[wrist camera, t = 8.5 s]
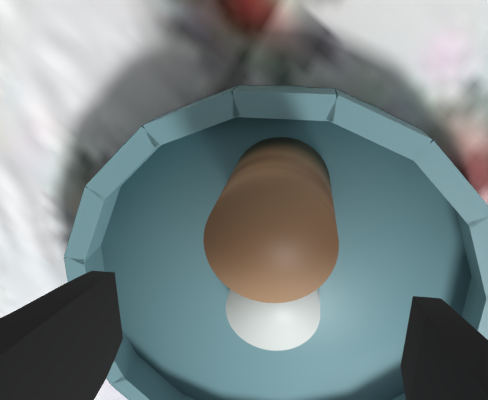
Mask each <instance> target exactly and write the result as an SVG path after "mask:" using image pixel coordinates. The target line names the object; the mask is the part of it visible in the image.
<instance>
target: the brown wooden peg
mask: <svg viewBox="0 0 488 400" xmlns="http://www.w3.org/2000/svg"><path fill="white" fill-rule="evenodd" d="M203 242H204V250H205V254H206V258H207V260H208V263H209V265H210V267H211V268H212V270H213V272H214V273H215V274H216V276H217V277H218V278H219V279H220V280H221V282H222V283H224V284H225V285H226V286H227V287H228V288H230V289H231V290H233V291H234V292H235V293H237V294H239V295H241V296H243V297H246V298H248V299H251V300H255V301H258V302H265V303H285V302H290V301H294V300H297V299H300V298H303V297H305V296H307V295H309V294H311V293H312V292H314V291H315V290H317V289H318V288H319V287H320V286H321V285H322V284H323V283H324V282H325V281H326V280H327V279H328V277H329V276H330V275H331V273H332V271H333V269H334V267H335V264H336V261H337V258H338V253H339V239H338V231H337V224H336V217H335V211H334V204H333V197H332V190H331V183H330V176H329V172H328V169H327V166H326V164H325V162H324V160H323V159H322V157H321V156H320V155H319V154H318V152H316V151H315V150H314V149H313V148H312V147H311V146H309V145H308V144H306V143H304V142H302V141H300V140H297V139H293V138H289V137H273V138H268V139H264V140H262V141H260V142H257V143H256V144H254V145H252V146H251V147H250V148H249V149H247V150H246V151H245V152H244V153H243V155H242V156H241V157H240V159H239V161H238V163H237V164H236V166H235V168H234V170H233V172H232V174H231V176H230V178H229V179H228V181H227V183H226V185H225V187H224V189H223V191H222V192H221V194H220V196H219V198H218V200H217V202H216V204H215V206H214V207H213V209H212V211H211V213H210V215H209V217H208V219H207V222H206V225H205V229H204V238H203Z"/></svg>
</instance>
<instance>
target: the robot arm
mask: <svg viewBox="0 0 488 400" xmlns="http://www.w3.org/2000/svg"><path fill="white" fill-rule="evenodd" d="M122 340H123V335H122V327H121V319H120V311H119V303H118V295H117V287H116V279H115V272H103V271H90V272H88V273H85V274H83V275H81V276H79V277H77V278H75V279H73V280H71V281H69V282H67V283H66V284H64V285H62V286H60V287H58V288H56V289H55V290H53V291H51V292H49V293H47V294H45V295H44V296H42V297H40V298H38V299H36V300H34V301H33V302H31V303H29V304H27V305H25V306H23V307H22V308H20V309H18V310H16V311H14V312H12V313H10V314H8V315H6V316H4V317H2V318H0V400H94V398H95V397H96V395H97V393H98V391H99V390H100V388H101V386H102V385H103V383H104V381H105V379H106V377H107V376H108V373H109V371H110V369H111V367H112V364H113V362H114V360H115V357H116V355H117V352H118V350H119V347H120V345H121V342H122ZM400 367H401V373H402V379H403V385H404V391H405V397H406V400H488V340H487V339H486V338H485V337H484V336H483V335H482V334H481V333H479V332H478V331H477V330H476V329H475V328H474V327H473V326H472V325H471V324H470V323H468V322H467V321H466V320H465V319H464V318H463V317H462V316H461V315H460V314H458V313H457V312H456V311H455V310H454V309H453V308H452V307H451V306H449V305H448V304H447V303H446V302H445V301H443V300H442V299H441V298H431V297H418V296H413V298H412V304H411V310H410V315H409V321H408V326H407V332H406V338H405V343H404V349H403V355H402V360H401V366H400Z"/></svg>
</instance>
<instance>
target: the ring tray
mask: <svg viewBox="0 0 488 400" xmlns="http://www.w3.org/2000/svg"><path fill="white" fill-rule="evenodd" d="M273 137H289V138H293V139H297V140H300V141H302V142H304V143H306V144H308V145H309V146H311V147H312V148H313V149H314V150H315V151H316V152H318V154H319V155H320V156H321V157H322V159H323V160H324V162H325V164H326V166H327V169H328V172H329V176H330V183H331V190H332V197H333V204H334V211H335V217H336V224H337V231H338V239H339V253H338V258H337V261H336V264H335V267H334V269H333V271H332V273H331V275H330V276H329V277H328V279H327V280H326V281H325V282H324V283H323V284H322V285H321V286H320V287H319V288H318V289H317V290H315V291H314V292H312V293H311V294H309V295H307V296H305V297H303V298H300V299H297V300H294V301H290V302H285V303H265V302H258V301H255V300H251V299H248V298H246V297H243V296H241V295H239V294H237V293H235V292H234V291H233V290H231V289H230V288H228V287H227V286H226V285H225V284H224V283H222V282H221V280H220V279H219V278H218V277H217V276H216V274H215V273H214V272H213V270H212V268H211V267H210V265H209V263H208V260H207V258H206V254H205V250H204V242H203V238H204V229H205V225H206V222H207V219H208V217H209V215H210V213H211V211H212V209H213V207H214V206H215V204H216V202H217V200H218V198H219V196H220V194H221V192H222V191H223V189H224V187H225V185H226V183H227V181H228V179H229V178H230V176H231V174H232V172H233V170H234V168H235V166H236V164H237V163H238V161H239V159H240V157H241V156H242V155H243V153H244V152H245V151H246V150H247V149H249V148H250V147H251V146H252V145H254V144H256V143H257V142H260V141H262V140H264V139H268V138H273ZM64 256H65V257H64V260H65V267H66V273H67V279H68V282H69V281H71V280H73V279H75V278H77V277H79V276H81V275H83V274H85V273H88V272H90V271H103V272H115V279H116V287H117V295H118V303H119V311H120V319H121V327H122V335H123V340H122V342H121V345H120V347H119V350H118V352H117V355H116V357H115V360H114V362H113V364H112V367H111V369H110V371H109V373H108V376H107V377H106V378H107V380H108V381H109V383H110V384H111V385H112V386H113V387H114V388H115V389H116V390H118V391H119V392H120V393H121V394H122V395H123V396H125V397H126V398H127V399H128V400H406V397H405V391H404V385H403V379H402V373H401V367H400V366H401V360H402V355H403V349H404V343H405V338H406V332H407V326H408V321H409V315H410V310H411V304H412V298H413V296H418V297H431V298H441V299H442V300H443V301H445V302H446V303H447V304H448V305H449V306H451V307H452V308H453V309H454V310H455V311H456V312H457V313H458V314H460V315H461V316H462V317H463V318H464V319H465V320H466V321H467V322H468V323H470V324H471V325H472V326H473V327H474V328H475V329H476V330H477V331H478V332H479V333H481V334H482V335H483V336H484V337H485V338H486V339H487V340H488V205H487V204H486V203H485V201H484V200H483V199H482V198H481V197H480V195H479V194H478V193H477V192H476V191H475V189H474V188H473V187H472V186H471V185H470V183H469V182H468V181H467V180H466V179H465V177H464V176H463V175H462V174H461V173H460V171H459V170H458V169H457V168H456V167H455V165H454V164H453V163H452V162H451V161H450V159H449V158H448V157H447V156H446V155H445V153H444V152H443V151H442V150H441V149H440V147H439V146H438V145H437V144H436V143H435V141H434V140H433V139H431V138H430V137H429V136H428V135H427V134H426V133H425V132H424V131H422V130H421V129H419V128H417V127H415V126H413V125H411V124H409V123H407V122H405V121H402V120H400V119H398V118H396V117H394V116H392V115H390V114H388V113H387V112H385V111H383V110H381V109H379V108H378V107H376V106H373V105H371V104H368V103H366V102H363V101H360V100H358V99H356V98H354V97H352V96H350V95H347V94H345V93H343V92H341V91H339V90H337V89H335V90H334V88H311V87H302V86H292V85H269V86H253V85H239V86H238V85H237V86H235V87H232V88H230V89H227V90H225V91H222V92H220V93H217V94H214V95H212V96H209V97H206V98H203V99H200V100H197V101H195V102H193V103H191V104H189V105H186V106H184V107H181V108H179V109H176V110H174V111H171V112H168V113H166V114H163V115H161V116H158V117H156V118H155V119H153V120H151V121H149V122H148V123H146V124H144V125H143V126H141V127H140V128H139V129H138V131H137V132H136V133H135V134H134V135H133V136H132V137H131V138H130V139H129V140H128V141H127V142H126V143H125V144H124V145H123V146H122V147H121V149H120V150H119V151H118V152H117V153H116V154H115V155H114V156H113V157H112V158H111V159H110V160H109V161H108V162H107V163H106V164H105V165H104V167H103V168H102V169H101V170H100V171H99V172H98V173H97V174H96V175H95V176H94V177H93V178H92V179H91V180H90V181H89V182H88V183H87V185H86V186H85V188H84V191H83V195H82V198H81V201H80V205H79V208H78V211H77V215H76V218H75V221H74V225H73V228H72V231H71V235H70V238H69V242H68V245H67V248H66V252H65V255H64Z"/></svg>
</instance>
